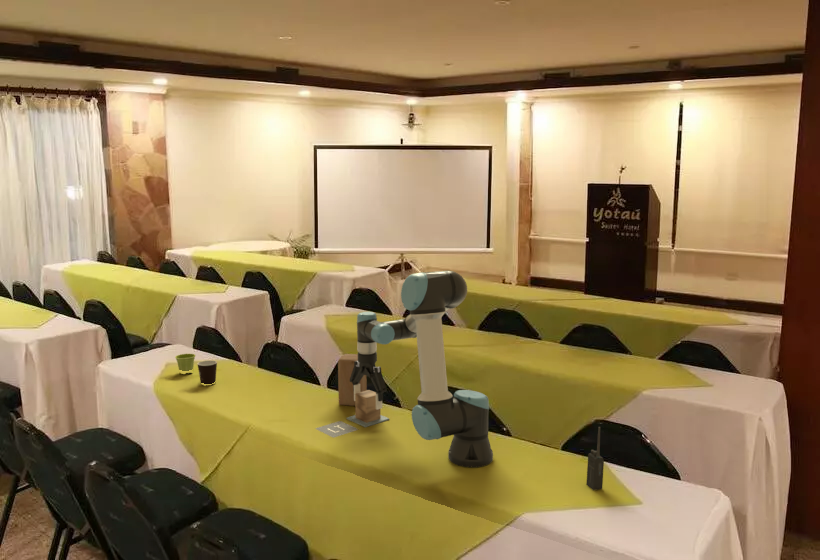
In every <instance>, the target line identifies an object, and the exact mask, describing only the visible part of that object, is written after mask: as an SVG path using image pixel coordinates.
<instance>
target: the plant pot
mask: <svg viewBox="0 0 820 560" xmlns="http://www.w3.org/2000/svg"><path fill="white" fill-rule="evenodd" d="M195 357H196V354H194V353H182V354H178V355H175V357H174V358H175V360H176V362H177V367H178V371H179V370H182V371H189V370H192V369H193V370H194V364H195V363H194V362H195Z"/></svg>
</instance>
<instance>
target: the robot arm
mask: <svg viewBox="0 0 820 560" xmlns="http://www.w3.org/2000/svg"><path fill="white" fill-rule="evenodd" d="M467 295H468V285H467V282H466V280H465V279H464V277H463V276H462V275H461V274H460V273H458V272H457V271H453V270H441V271H440V270H439V271H427V272H426V271H425V272H422V271H421V272H417V273H416V272H415V273H412V274H410V275H408V276H407V277H406V278H405V279H404V281H403V283H402V286H401V292H400V297H401V298H400V299H401V303H402V304H403V305H402V306H403V307H404V308H405V309H406V310H408V311H409V315H407V316H406V317H405V318H402V319H395V320H394V319H393V320H386V321H378V318H377V314H376V312H373V311H362V312H359V313H357V315H356V317H357V318H356V330H357V331H356V334H357V335H356V336H357V339H356V342H357V349H356V350H357V354H358V361H355V362H354V368H353V371H352V374H351V377H350V382H352V384H353V391H354V401H355V394H356V393H359V392H360V384H358V383H359V382H360V380H361V379H362V377H363V376H364V375H366V376H367V377H368V378H369V379H370V380H371V382H372V385H373V386H374V389H375V392H376V410H378V409H383V401H384V393H386V392H387V391H388V389H387V386H386V382H385V380H384V376H383V372H382V367H381V366H376V363H377V361H378V355H377V354H378V352H377V350H378V347H377V346H378V345H377V344H380V345H388V344H390V343H391V342H392V341H398V340H405V339H406V340H407V339H416V345H417V354H418V356H417V357H418V358H417V359H418V367H419V378H420V388H421V389H420V390H421V393H420V394H419V395H418V397H416V399H417V404H416V405H414V407H412V410H411V420H412V424H413V427H414V429H415V431H416V432H417V434H418V435H419V436H420V437H421V438H422V439H424V440H427V441H432V440H433V441H434V440H440V439H441V438H446V437H447V438H448V437H450V436H453V437H452V439H451V444H450V446H449V449H448V453H447V455H448V456H447V457H448V460H449V462H450V463H452V464H454V465H457V466H459V467H463V468H481V467H485V466H488V465H490V464H491V463H492V462H493V460H494V452H493V449H492V447H491V443H490V439H489V414H490V411H489V410H490V403H489V402H490V401H489V397H488V396H487V395H485V394H484V393H482V392H479V391H475V390H468V389H459V390H455V392H454V393H453V394H452V393H451V392H450V391H449V390H448V378H447V367H446V357H445V345H444V334H443V333H444V332H443V321H442V320H443V319H442V317H443V316H444V315H445V314H446V312H447V311H448V310H452V309H455V308H457V307H458V306H459V305H460V304H462V303H463V302H464V301H465V299H466V297H467Z"/></svg>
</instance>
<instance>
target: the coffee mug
mask: <svg viewBox="0 0 820 560" xmlns="http://www.w3.org/2000/svg"><path fill="white" fill-rule="evenodd" d="M217 364H218V361H216V360H212V359H210V360H209V359H208V360H201V361H199V362H197V364H196V365H197V368H198V369H197V370H198V375H199V382H200V384H201V383H204V384H212V383H214V382H215V381H216V380H217ZM216 382H217V381H216ZM216 382H215V383H216Z"/></svg>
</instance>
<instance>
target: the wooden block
mask: <svg viewBox="0 0 820 560" xmlns="http://www.w3.org/2000/svg"><path fill="white" fill-rule="evenodd" d="M355 361H358V353H357V354H356V353H344V354H343V355H342V356H341V357H340V358H338V359H337V369H338V370H337V375H338V376H337V378H338V379H337V380H338V381H337V382H338V383H337V384H338V386H337V387H338V388H337V389H338V404H339V405H340V406H352V407H355V401H354V391H353V384H352V382H350V377H351V374H352V371H353V368H354V362H355ZM367 377H368V376H366V375H364V376H363V377H362V379H361V380H360V382H359V383H358V384H360V392H363V391H367V390H368V385H367V383H368V381H367Z"/></svg>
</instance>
